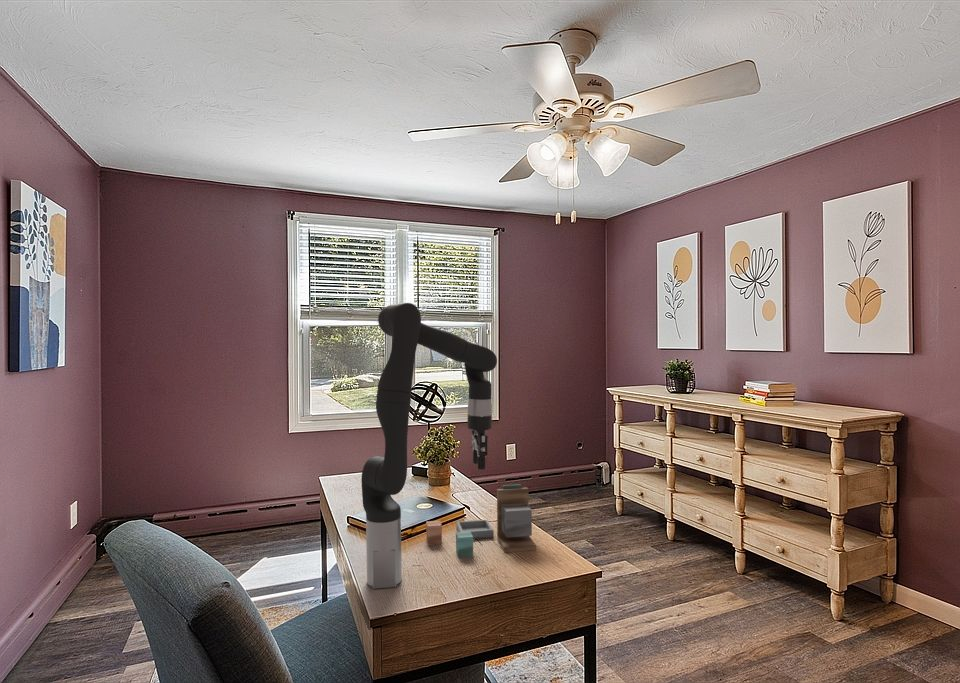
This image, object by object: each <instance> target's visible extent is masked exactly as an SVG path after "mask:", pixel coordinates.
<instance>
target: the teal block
mask: <svg viewBox="0 0 960 683" xmlns="http://www.w3.org/2000/svg"><path fill="white" fill-rule="evenodd" d="M455 553H456V556H457V559H460V558H462V559H463V558H473V557H474V539H473V536H472V533H471V532H458V531H456V532H455Z"/></svg>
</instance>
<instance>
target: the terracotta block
mask: <svg viewBox="0 0 960 683" xmlns="http://www.w3.org/2000/svg"><path fill="white" fill-rule="evenodd" d="M425 523H426V524H425V528H426V530H425V531H426V532H425V536H426V540H425V541H426V545H427V544H428V545H427V546H431V545H432V546H433V544H435V545H443V539H442V538H443V535H442V533H443V532H442V531H443V528H442V527H443V525H442V522H441V520H431V521H430V520H429V521H426V522H425Z"/></svg>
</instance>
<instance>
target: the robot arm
mask: <svg viewBox="0 0 960 683" xmlns="http://www.w3.org/2000/svg"><path fill="white" fill-rule="evenodd" d="M377 321H378V322H377V324H378V326H379V328H380V329H381V331H382V332H383V333H384V334H386V335H387V336H390V337H392V344H391V351H390V355H389V358H388V359H387V363H386V364H385V366H384V368H383V370H382V372H381V374H380V377H379V381H378V384H377V390H376V398H375V399H376V400H375V410H376V414H377V417H378V422H379V424H380V427H381V430H382V433H383V437H384V456H372V457H370V458H368V459H367V460H366V462H365V463H364V465H363V467H362V472H361V496H362V498H361V499H362V506H363V510H364V512H365V515H366V516H365V525H366V526H365V529H366V530H365V537H366V538H365V540H366V544H365V546H366V547H365V548H366V583H367V585H368V586H370V587H371V588H372V589H373V590H374V589H375V590H376V589H386V588H387V589H388V588H396V587H397V586H398V584H400V583H401V582H402V577H403V576H402V535H401V520H402V510H401V506H400V504H399V503H398V502H397V501H395V499H393V497H392V496H395V495H398V494H399V493H400V492H401V491H402V490H403V488H404V487H405V485H406V482H407V481H406V480H407V476H408V430H409V417H410V410H411V401H412V391H413V390H412V389H413V388H412V387H413V379H414V376H413V375H414V368H415V361H416V360H415V359H416V352H417V348H418V347H417V346H418V345H420V346H422V347H425V348H428V349H430V350H432V351H434V352H436V353H438V354H440V355H442V356H445V357H446V358H449V359H451V360H453V361H455V362H458V363H463V364H464V370H465V374H466V380H467V383H468V400H467V401H468V402H467V421H466V422H467V423H466V424H467V426H466V427H467V429H468V430H470V431H471V450H472V463H473V464H475V465H476V464H477V469H478V470H486V457H487V456H488V435H486V432H485V431H490V430H491V429H492V425H493V404H492V382H491V381H490V380H488V379H487V378H485V374H484V373H487V372H488V373H489V372H492V371H493V370H494V369H495V368H496V367H497V363H498V358H497V355H496V353H495V352H494V351H493V350H491V349H490V348H488V347H485V346H482V345H480V344H476V343H473V342H471V341H468V340H467V339H465V338H463V337H461V336H459V335H457V334H455V333H452V332H450V331H447V330H445V329H441V328H437V327H433V326H430V325H427V324H425V323H422V316H421V312H420V310H419V308H418V307H417V306H416V305H415V304H413V303H412V302H400V303H394V304H393V303H392V304H389V305H387V306H385V307H383V308H382V309H381V311H380V312H379V313H378V317H377Z"/></svg>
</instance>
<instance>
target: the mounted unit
mask: <svg viewBox="0 0 960 683" xmlns="http://www.w3.org/2000/svg"><path fill="white" fill-rule="evenodd" d="M529 503H530V502H529V488H528V487H522V484H521V483H520V484H505V485H504V484H503V485H502V488H496V527H497V529H496V532H497V533H496V535H497V536H496V537H497V538H496V540H497V542H498V544H499V546H500V548H501V549H502V551H503V553H512V552H513V553H514V552H524V551H526V552H527V551H535V550H537V544H536V543H535V541H534V540H533V539H532V536H533V535H532V531H533V529H532V528H533V526H532V525H533V524H532V523H533V522H532V521H533V520H532V519H533V516H532V513H533V511H532V509H531V508H530V506H529Z"/></svg>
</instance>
